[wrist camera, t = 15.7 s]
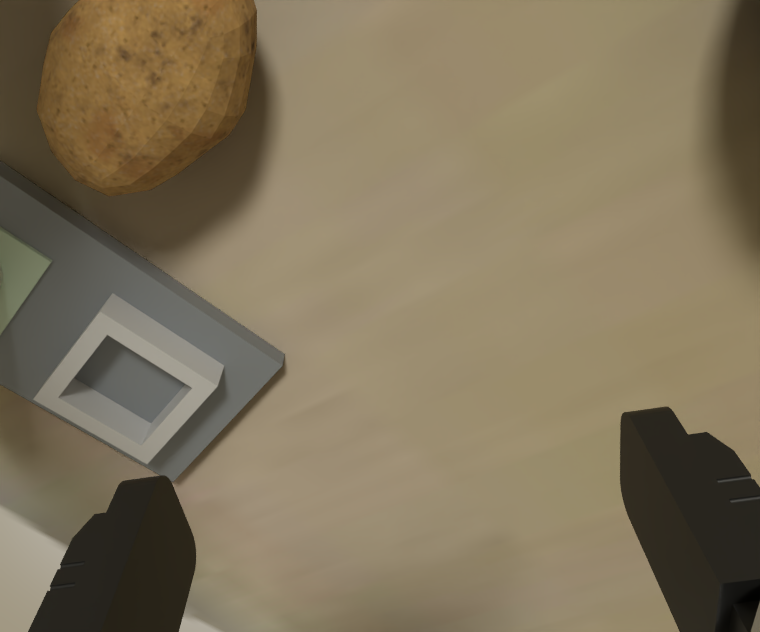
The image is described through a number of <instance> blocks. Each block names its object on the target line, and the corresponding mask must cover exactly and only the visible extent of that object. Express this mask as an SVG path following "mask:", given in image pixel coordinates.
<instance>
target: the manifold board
mask: <svg viewBox="0 0 760 632" xmlns="http://www.w3.org/2000/svg"><path fill="white" fill-rule="evenodd" d="M0 265H1V267H2V271H3V282H2V286H1V288H0V385H2V386H4V387H6V388H7V389H9V390H11V391H13V392H14V393H16V394H18V395H20V396H21V397H23V398H25V399H27V400H28V401H30V402H32V403H34V404H36V405H37V406H39V407H41V408H43V409H44V410H46V411H48V412H50V413H51V414H53V415H55V416H57V417H58V418H60V419H62V420H64V421H66V422H67V423H69V424H71V425H73V426H74V427H76V428H78V429H80V430H81V431H83V432H85V433H87V434H88V435H90V436H92V437H94V438H96V439H97V440H99V441H101V442H103V443H104V444H106V445H108V446H110V447H111V448H113V449H115V450H117V451H118V452H120V453H122V454H124V455H125V456H127V457H129V458H131V459H133V460H134V461H136V462H138V463H140V464H141V465H143V466H145V467H147V468H148V469H150V470H152V471H154V472H155V473H157V474H159V475H165V476H167V477H168V478H169V479H170V481H171V482H173V481H174V480H175V479H176V478H177V477H178V476H179V475H180V474H181V473H182V472H183V471H184V470H185V469H186V468H187V467H188V466H189V464H190V463H191V462H192V461H193V460H194V459H195V458H196V457H197V456H198V455H199V454H200V453H201V452H202V451H203V450H204V449H205V448H206V446H207V445H208V444H209V443H210V442H211V441H212V440H213V439H214V438H215V437H216V436H217V435H218V434H219V433H220V432H221V431H222V429H223V428H224V427H225V426H226V425H227V424H228V423H229V422H230V421H231V420H232V419H233V418H234V417H235V416H236V415H237V414H238V412H239V411H240V410H241V409H242V408H243V407H244V406H245V405H246V404H247V403H248V402H249V401H250V400H251V399H252V398H253V397H254V395H255V394H256V393H257V392H258V391H259V390H260V389H261V388H262V387H263V386H264V385H265V384H266V383H267V382H268V381H269V380H270V378H271V377H272V376H273V375H274V374H275V373H276V372H277V371H278V370H279V369H280V368H281V367H282V366H283V360H284V355H285V354H284V353H282V352H281V351H279V350H278V349H276V348H275V347H273V346H272V345H270V344H269V343H267V342H266V341H264V340H263V339H262V338H260V337H259V336H257V335H256V334H254V333H253V332H251V331H250V330H248V329H247V328H245V327H244V326H242V325H241V324H239V323H238V322H237V321H235V320H234V319H232V318H231V317H229V316H228V315H226V314H225V313H223V312H222V311H220V310H219V309H217V308H216V307H214V306H213V305H212V304H210V303H209V302H207V301H206V300H204V299H203V298H201V297H200V296H198V295H197V294H195V293H194V292H192V291H191V290H189V289H188V288H187V287H185V286H184V285H182V284H181V283H179V282H178V281H176V280H175V279H173V278H172V277H170V276H169V275H167V274H166V273H164V272H163V271H162V270H160V269H159V268H157V267H156V266H154V265H153V264H151V263H150V262H148V261H147V260H145V259H144V258H142V257H141V256H139V255H138V254H137V253H135V252H134V251H132V250H131V249H129V248H128V247H126V246H125V245H123V244H122V243H120V242H119V241H117V240H116V239H115V238H113V237H112V236H110V235H109V234H107V233H106V232H104V231H103V230H101V229H100V228H98V227H97V226H95V225H94V224H92V223H91V222H90V221H88V220H87V219H85V218H84V217H82V216H81V215H79V214H78V213H76V212H75V211H73V210H72V209H70V208H69V207H67V206H66V205H65V204H63V203H62V202H60V201H59V200H57V199H56V198H54V197H53V196H51V195H50V194H48V193H47V192H45V191H44V190H42V189H41V188H40V187H38V186H37V185H35V184H34V183H32V182H31V181H29V180H28V179H26V178H25V177H23V176H22V175H20V174H19V173H17V172H16V171H15V170H13V169H12V168H10V167H9V166H7V165H6V164H4V163H3V162H1V161H0Z"/></svg>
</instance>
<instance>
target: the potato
mask: <svg viewBox="0 0 760 632" xmlns="http://www.w3.org/2000/svg"><path fill="white" fill-rule="evenodd" d="M256 46H257V10H256V6H255V3H254V0H79V1H78V2H77V3H76V4H75V5H74V6H73V7H72V8H71V9H70V10H69V11H68V12H67V13H66V15H65V16H64V17H63V19H62V20H61V21H60V22H59V24H58V25H57V26H56V28H55V29H54V30H53V31H52V33H51V35H50V39H49V44H48V48H47V52H46V56H45V60H44V64H43V71H42V79H41V85H40V91H39V98H38V104H37V113H38V115H39V118H40V121H41V124H42V126H43V129H44V132H45V135H46V137H47V140H48V143H49V146H50V149H51V151H52V153H53V154H54V155H55V156H56V157H57V159H58V160H59V161H60V162H61V164H62V165H63V166H64V167H65V168H66V170H67V171H68V172H69V173H70V175H71V176H72V177H73V178H74V179H75V180H76V181H78V182H80V183H82V184H84V185H86V186H88V187H91V188H93V189H95V190H97V191H99V192H101V193H103V194H105V195H107V196H115V195H122V194H128V193H134V192H140V191H146V190H151V189H153V188H155V187H156V186H158V185H160V184H161V183H163V182H165V181H167V180H168V179H170V178H172V177H173V176H175V175H177V174H178V173H180V172H181V171H182V170H184V169H185V168H186V167H188V166H189V165H190V164H191V163H193V162H194V161H195V160H197V159H198V158H199V157H201V156H202V155H203V154H204V153H206V152H207V151H208V150H210V149H211V148H212V147H214V146H215V145H216V144H218V143H219V142H220V141H222V140H223V139H224V138H226V137H227V136H228V135H229V134H230V133H231V131H232V130H233V128H234V127H235V125H236V124H237V122H238V121H239V119H240V118H241V116H242V115H243V113H244V111H245V110H246V104H247V98H248V93H249V87H250V82H251V76H252V70H253V64H254V58H255V52H256Z"/></svg>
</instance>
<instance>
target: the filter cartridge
mask: <svg viewBox="0 0 760 632" xmlns="http://www.w3.org/2000/svg"><path fill="white" fill-rule="evenodd" d="M2 282H3V271H2V267H1V265H0V288H1V286H2Z"/></svg>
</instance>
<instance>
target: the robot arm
mask: <svg viewBox="0 0 760 632" xmlns="http://www.w3.org/2000/svg"><path fill="white" fill-rule="evenodd" d="M620 484H621V492H622V497H623V501H624V505H625V508H626V511H627V514H628V517H629V519H630V521H631V524H632V526H633V528H634V530H635V532H636V535H637V537H638V539H639V541H640V544H641V546H642V548H643V550H644V553H645V555H646V557H647V559H648V562H649V564H650V566H651V568H652V571H653V573H654V575H655V577H656V579H657V582H658V584H659V586H660V588H661V591H662V593H663V595H664V597H665V600H666V602H667V604H668V606H669V609H670V611H671V613H672V615H673V617H674V620H675V622H676V624H677V626H678V629H679V631H680V632H760V487H759V486H758V484H757V483H756V481H755V480H754V479H753V480H752V479H751V474H750V473H749V471H748V470H747V469H746V467H745V466H744V464H743V463H742V462H741V460H740V459H739V457H738V456H737V454H736V453H735V452H734V451H733V450H732V449H731V448H729V447H728V446H726V445H725V444H723V443H722V442H720V441H719V440H718V439H716V438H715V437H713V436H712V435H710V434H709V433H707V432H704V433H697V434H690V435H688V434H687V433H686V431H685V429H684V428H683V426H682V425H681V423H680V422H679V420H678V418H677V417H676V415H675V414H674V412H673V411H672V410H671V409H670V408H669V407H660V408H653V409H645V410H638V411H631V412H624V413H623V414H622V416H621V434H620ZM60 565H61V568H60V569H58V570H57V572H56V574H55V576H54V578H53V581H52V583H51V585H50V587H51V589H50V591H47V593H46V595H45V597H44V600H43V602H42V604H41V606H40V608H39V610H38V612H37V615H36V616H35V618H34V620H33V623H32V625H31V627H30V629H29V631H28V632H179V628H180V625H181V621H182V617H183V613H184V610H185V606H186V602H187V598H188V594H189V591H190V587H191V583H192V579H193V575H194V571H195V565H196V548H195V541H194V537H193V534H192V531H191V529H190V526H189V524H188V521H187V519H186V517H185V514H184V512H183V509H182V507H181V504H180V502H179V499H178V497H177V495H176V492H175V490H174V487H173V485H172V483H171V481H170V479H169V478H168V477H167V476H165V475H161V476H154V477H147V478H140V479H133V480H125V481H122V482H121V483H120V484H119V486H118V487H117V489H116V492H115V494H114V496H113V499H112V501H111V503H110V505H109V508H108V510H107V512H106V513H100V514H94V516H93V517H92V518H91V519H90V520H89V521H88V522H87V523H86V524H85V525H84V526H83V528H82V529H81V530H80V531H79V532H78V533H77V534H76V535H75V536H74V537H73V539H72V541H71V543H70V545H69V547H68V549H67V551H66V553H65V555H64V558H63V560H62V562H61V564H60Z"/></svg>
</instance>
